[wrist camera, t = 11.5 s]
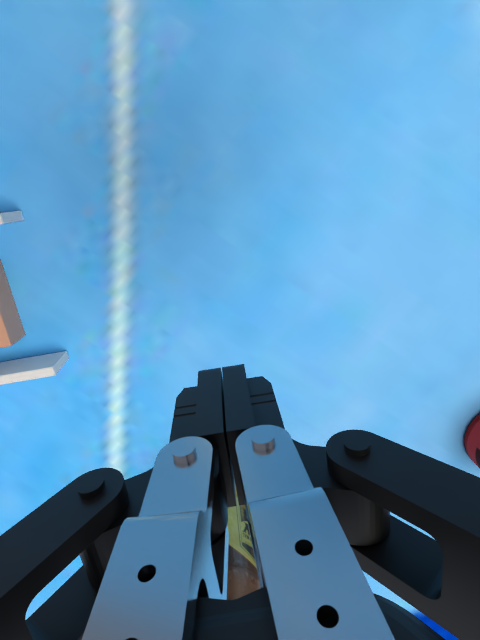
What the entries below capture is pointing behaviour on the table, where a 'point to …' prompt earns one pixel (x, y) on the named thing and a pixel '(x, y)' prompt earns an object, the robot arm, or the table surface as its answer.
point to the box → (35, 364)
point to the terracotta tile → (8, 314)
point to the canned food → (473, 440)
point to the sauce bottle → (240, 555)
